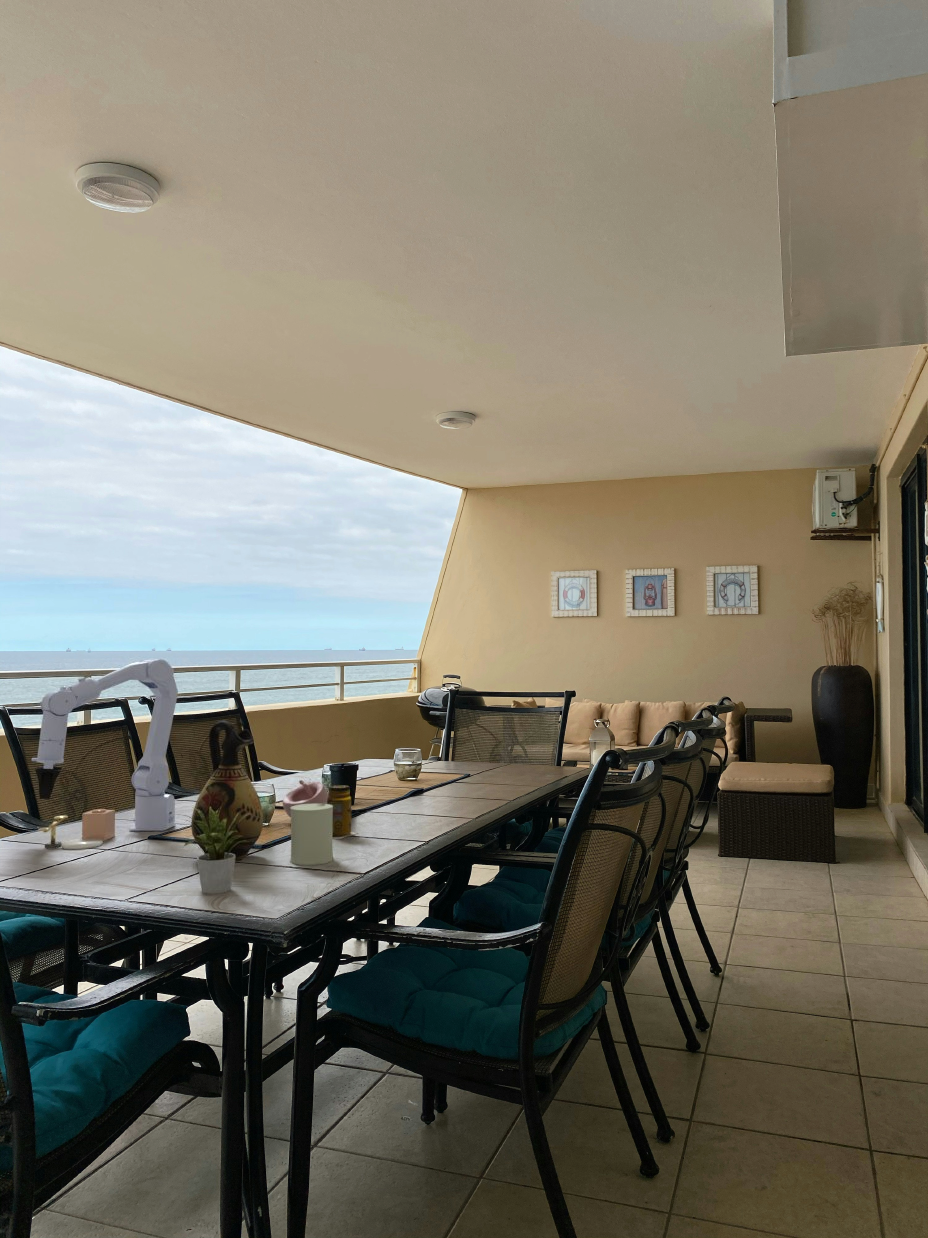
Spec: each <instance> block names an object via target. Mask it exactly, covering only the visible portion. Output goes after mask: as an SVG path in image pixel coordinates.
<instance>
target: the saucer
mask: <svg viewBox="0 0 928 1238" xmlns="http://www.w3.org/2000/svg"><path fill="white" fill-rule="evenodd" d="M103 843H104V841H103V840H102V839H96V838H85V839H82V838H76V839H71V840H66V841H63V842H61V846H60V847H62V848H61V849H63V848H64V849H63V850H84V849H86V850H87V849H92V848H98V847H100V846H102V845H103Z"/></svg>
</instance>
